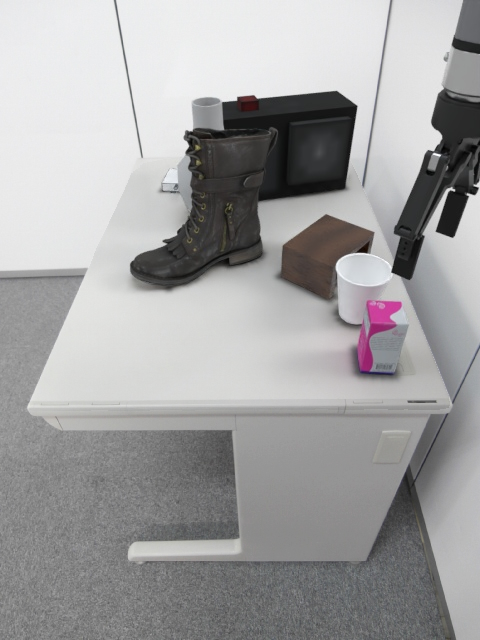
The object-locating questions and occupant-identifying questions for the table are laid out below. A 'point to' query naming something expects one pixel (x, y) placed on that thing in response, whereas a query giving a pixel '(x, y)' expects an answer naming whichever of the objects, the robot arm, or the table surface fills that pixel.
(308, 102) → the speaker
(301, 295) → the table surface
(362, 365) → the supplement box
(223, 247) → the boot
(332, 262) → the brown wooden box
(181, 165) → the vase
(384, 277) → the cup
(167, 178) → the container
